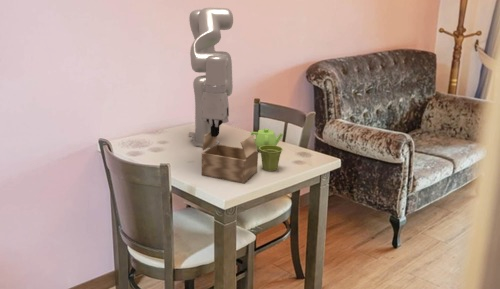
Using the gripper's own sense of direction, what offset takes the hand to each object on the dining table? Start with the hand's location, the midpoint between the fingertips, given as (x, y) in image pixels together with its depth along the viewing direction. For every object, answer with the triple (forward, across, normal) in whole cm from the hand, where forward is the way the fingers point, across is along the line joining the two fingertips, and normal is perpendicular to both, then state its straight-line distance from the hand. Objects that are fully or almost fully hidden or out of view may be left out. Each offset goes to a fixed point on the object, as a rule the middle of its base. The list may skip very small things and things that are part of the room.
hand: (214, 135), depth 190 cm
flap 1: (+2, -2, 0) cm, 2 cm away
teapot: (+14, +10, +35) cm, 39 cm away
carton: (+15, +6, 0) cm, 16 cm away
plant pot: (+15, +19, +13) cm, 27 cm away
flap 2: (+2, +14, 0) cm, 14 cm away
